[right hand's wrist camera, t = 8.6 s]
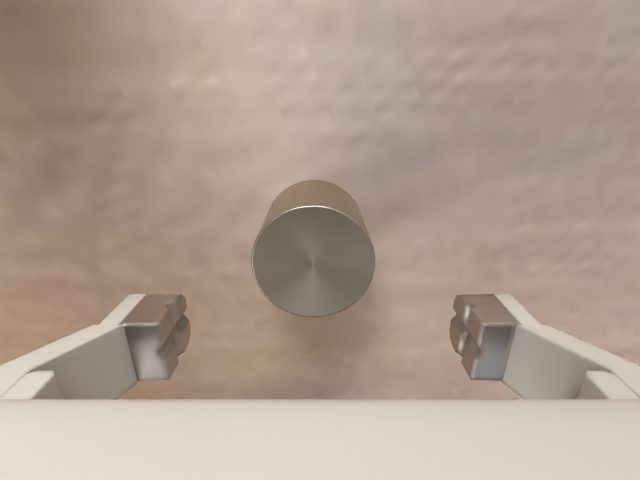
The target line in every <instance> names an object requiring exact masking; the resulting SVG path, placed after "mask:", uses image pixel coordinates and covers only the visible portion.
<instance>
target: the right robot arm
mask: <svg viewBox="0 0 640 480" xmlns="http://www.w3.org/2000/svg"><path fill="white" fill-rule="evenodd" d="M186 308H187V305H186V300H185V297H184V296H183V295H172V294H131V295H128V296H127V297H126V298H125V299H124V300H123V301H122V302H121V303H120V304H119V305H118V306H117V307H116V308H115V309H114V310H113V311H112V312H111V313H110V314H109V315H108V316H107V317H106V318H105V319H104V320H103V321H102V322H101V323H100V324H99V325H91V326H89V327H87V328H84V329H82V330H80V331H78V332H75V333H73V334H71V335H68V336H66V337H64V338H62V339H59V340H57V341H55V342H52V343H50V344H48V345H45V346H43V347H41V348H39V349H36V350H34V351H32V352H29V353H27V354H25V355H23V356H20V357H18V358H16V359H13V360H11V361H9V362H6V363H4V364H2V365H0V480H640V365H638V364H636V363H633V362H631V361H629V360H626V359H624V358H622V357H620V356H617V355H615V354H613V353H610V352H608V351H606V350H604V349H601V348H599V347H597V346H594V345H592V344H590V343H588V342H585V341H583V340H581V339H578V338H576V337H574V336H572V335H569V334H567V333H565V332H562V331H560V330H558V329H556V328H553V327H551V326H549V325H541V324H540V323H539V322H538V321H537V320H536V319H535V318H534V317H533V316H532V315H531V314H530V313H529V312H528V311H527V310H526V309H525V308H524V307H523V306H522V305H521V304H520V303H519V302H518V301H517V300H516V299H515V298H514V297H513V296H512V295H510V294H481V295H457V296H456V298H455V300H454V305H453V308H454V310H455V311H456V313H457V315H456V316H455V317H454V318H453V319H452V320H451V323H450V339H451V343H452V346H453V348H454V350H455V352H457V353H458V354H460V355H461V356H463V357H462V362H461V363H462V364H463V366H464V368H465V370H466V372H467V374H468V375H469V377H470V379H471V380H498V381H502V382H503V383H504V384H505V385H507V386H508V387H509V388H510V389H512V390H513V391H514V392H516V393H517V394H518V395H519V396H521V397H522V398H523V399H117V398H118V397H119V396H121V395H122V394H123V393H125V392H126V391H127V390H128V389H130V388H131V387H132V386H134V385H135V384H136V383H137V382H138V381H142V380H169V379H170V377H171V375H172V374H173V372H174V370H175V368H176V366H177V364H178V363H179V362H178V357H177V356H179V355H180V354H182V353H183V352H185V350H186V348H187V346H188V343H189V338H190V323H189V320H188V319H187V318H186V317H185V316H184V315H183V313H184V311H185V310H186Z"/></svg>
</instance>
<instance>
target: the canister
mask: <svg viewBox="0 0 640 480" xmlns="http://www.w3.org/2000/svg"><path fill="white" fill-rule="evenodd" d="M251 264H252V271H253V275H254V278H255V280H256V283H257V285H258V287H259V288H260V290H261V291H262V293H263V294H264V295H265V296H266V297H267V298H268V299H269V300H270V301H271V302H272V303H273V304H275V305H276V306H277V307H279V308H281V309H283V310H285V311H287V312H289V313H292V314H295V315H299V316H305V317H322V316H328V315H332V314H335V313H338V312H340V311H342V310H344V309H346V308H348V307H349V306H351V305H352V304H354V303H355V302H356V301H357V300H358V299H359V298H360V297H361V296H362V295H363V294H364V293H365V291H366V289H367V288H368V286H369V284H370V282H371V280H372V277H373V274H374V269H375V253H374V248H373V245H372V242H371V239H370V237H369V234H368V231H367V229H366V226H365V224H364V221H363V218H362V216H361V213H360V211H359V208H358V206H357V204H356V203H355V201H354V200H353V199H352V197H351V196H350V195H349V194H348V193H347V192H346V191H344V190H343V189H341V188H340V187H338V186H336V185H334V184H331V183H328V182H324V181H316V180H315V181H304V182H300V183H297V184H295V185H292V186H290V187H289V188H287V189H285V190H284V191H283V192H282V193H281V194H280V195H279V196H278V197H277V198H276V199H275V200H274V202H273V203H272V205H271V207H270V209H269V212H268V214H267V216H266V218H265V220H264V223H263V225H262V227H261V229H260V232H259V234H258V236H257V238H256V240H255V243H254V246H253V250H252V258H251Z"/></svg>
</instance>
